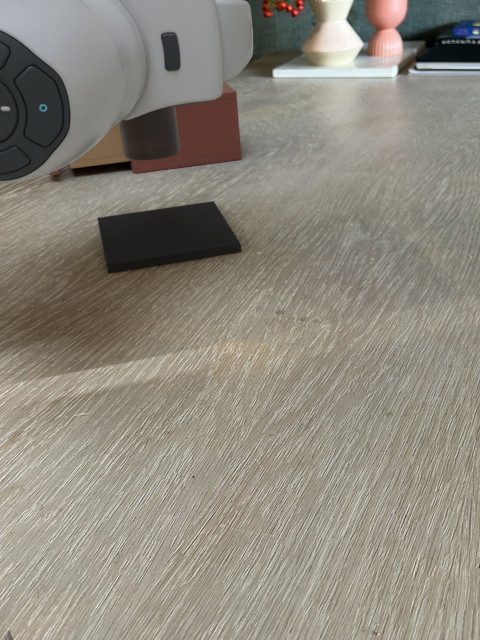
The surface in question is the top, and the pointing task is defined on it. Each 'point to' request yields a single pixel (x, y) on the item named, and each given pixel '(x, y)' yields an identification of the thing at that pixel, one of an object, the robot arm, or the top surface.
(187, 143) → the cabinet
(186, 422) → the top surface
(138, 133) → the pepper mill
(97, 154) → the drawer
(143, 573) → the top surface
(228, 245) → the plate
